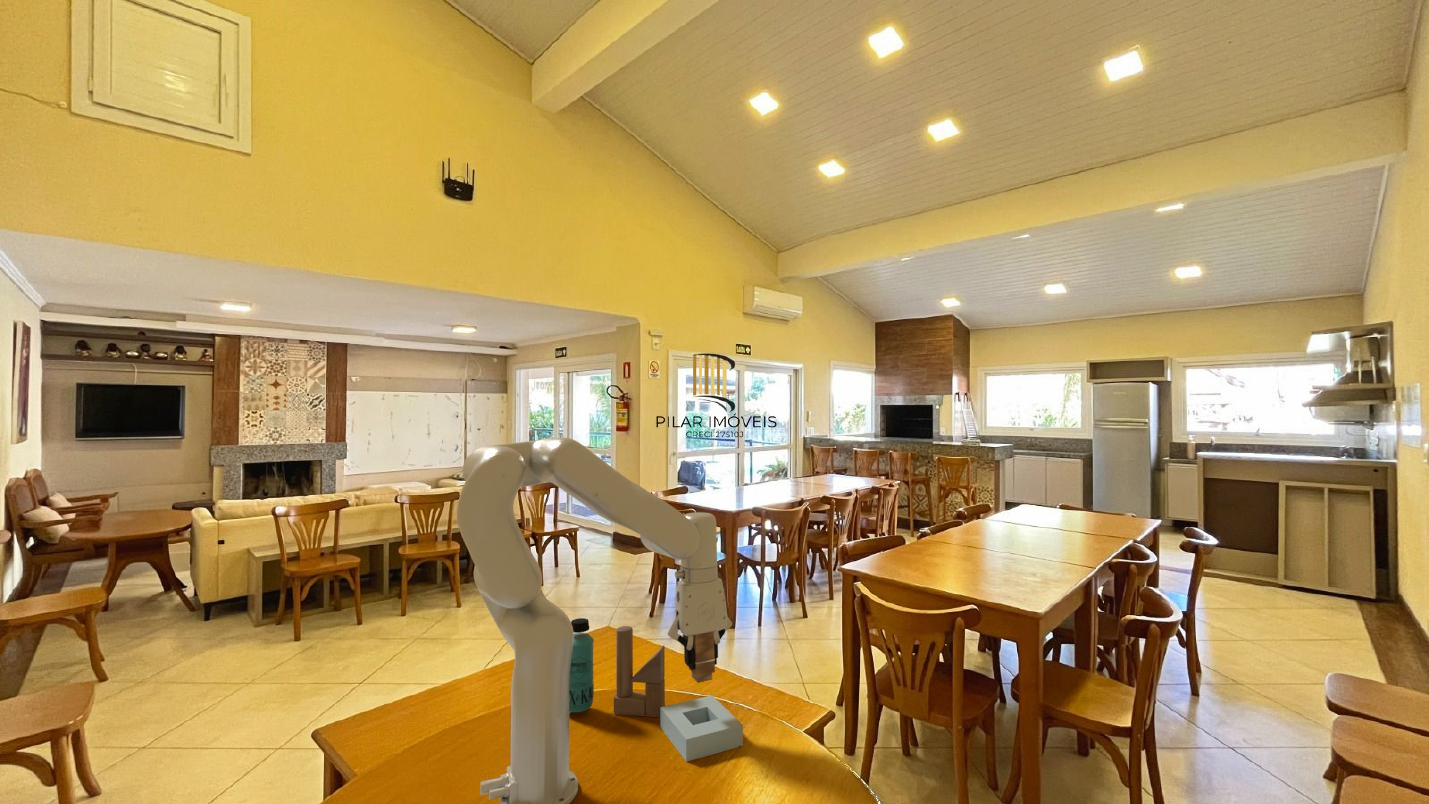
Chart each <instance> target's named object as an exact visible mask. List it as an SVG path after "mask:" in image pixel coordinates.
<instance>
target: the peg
mask: <svg viewBox="0 0 1429 804" xmlns="http://www.w3.org/2000/svg"><path fill="white" fill-rule="evenodd" d="M693 649H694V650H695V669H694V670H691V669H690V668H689V667H688V670H689V671H690V672H691V678H692V679H693V680H694V681H695V682H696V683H698V684H699V683H704V682H709V681H712V680H713V674H714V673H715V672H716V671H715V670H716V667H715V659H714V632H709V633H704V634H699V635H694V640H693Z"/></svg>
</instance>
